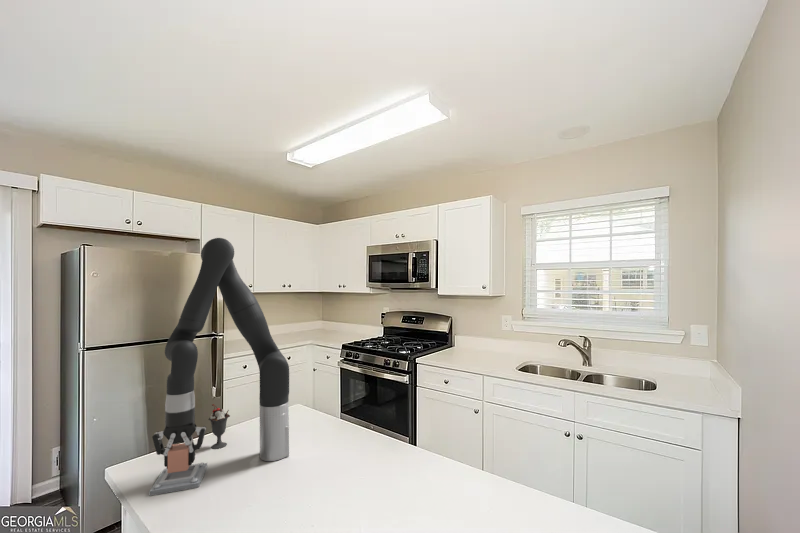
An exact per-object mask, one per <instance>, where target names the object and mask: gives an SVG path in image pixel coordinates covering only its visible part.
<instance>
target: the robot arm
mask: <svg viewBox="0 0 800 533" xmlns="http://www.w3.org/2000/svg"><path fill="white" fill-rule="evenodd" d="M234 256H235V248H234V246H233V244H232V243H231V241H229V240H227V239H226V238H222V237H214V238H212V239H210V240H208V241H207V242H205V244H204V245H203V247H202V249H201V251H200V259H201V263H200V264H201V265H200V269H199V272H198V276H197V278H196V281H195V283H194V285H193V287H192V289H191V291H190V293H189V296H188V298H187V299H186V301H185V304H184V306H183V308H182V312H181V314H180V318H179V319H178V322H177V324H176V326H175V328H174V330H173V331H172V333H171V335H170V336H169V338H168V339H167V342H166V344H165V347H164V355H165V358H166V359H167V360H168V361H170V362H171V364H170V365H171V366H170V373H169V374H168V376H167V379H166V396H165V406H164V410H165V412H164V414H165V416H164V417H165V418H164V419H165V420H164V429H163V430H162V431H156V432H154V434H153V435H152V437H151V438H152V441H153V445H154V448H155V449H154V450H155V453H156V455H159V456H160V455H162V456H164V457H163V458H164V459H163V461H164V464H163V465H164V467H165V468H167V469H168V451H169V450H170V449H171V447H172V446H173V445H174V444H182V443H185V445H186V446H187V448H189V459H188V465H192V464H194V461H195V460H196V451H197V450H200V449H201V447H202V446H203V442H204V439H205V438H204V437H205V435H206V431H207V426H205V425H203V426H197V425H196V422H195V420H196V396H195V372H196V369H197V363H198V358H199V352H198V347H197V345H196V344H195V343H194V340H195V338H196V336H197V335H198V334H199V333H200V332H202V331H203V329H204V326H205V324H206V321H207V319H208V316H209V314H210V311H211V307H212V305H213V301H214V298H215V295H216V293H217V292H216V291H217V290H218V288H219V291H220V294H221V297H222V299H223V302H224V304H225V306H226V308H227V311H228V312H229V315H230V317H231V319H232V321H233V323H234V325H235V326H236V328H237V330H238V332H239V333H240V334H241V336H242V337H243V338H244V339H245V341H246V342H247V344H248V345H249V347H250V349H251V350H252V352H253V355H254V358H255V359H256V362H257V366H258V370H259V458H260V460H261V461H265V462H274V461H279V460H282V459H284V458H287V457H290V417H289V416H290V415H289V410H290V409H289V406H290V405H289V404H290V403H289V400H290V399H289V396H290V364H289V363H288V360H287V359H286V357H285V356H284V355H283V353H282V352H281V350H280V349H279V347H278V346H277V344H276V342H275V341H274V339H273V337H272V335H271V332H270V329H269V325H268V322H267V319H266V317H265V314H264V312H263V309H262V307H261V305H260V304H259V301H258V300H257V298H256V296H255V295H254V293H253V292H252V290H251V289H250V288H249V286H247V284H246V283H245V282H244V281H243V279H242V278H241V276H240V274H239V273H238V270H237V267H236V266H235V263H234ZM195 432H196V435H197V436H198V437H197V438H198V439H197V441H196V442H197V443H195V442H194V438H193V434H194V433H195ZM164 437H165V438H166V439H167V440H168V441H167V444H166V445H165V446H166V447H164V444H163V440H162V439H163V438H164Z"/></svg>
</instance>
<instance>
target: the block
mask: <svg viewBox="0 0 800 533" xmlns="http://www.w3.org/2000/svg"><path fill="white" fill-rule="evenodd" d="M188 459H189V448H187V446H186V445H185V443H176V444H173V446H172V447H171V449H170V450H169V451H168V470H167V473H173V472H180V471H187V470H188V468H189V466H190V465H188Z"/></svg>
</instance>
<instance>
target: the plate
mask: <svg viewBox="0 0 800 533" xmlns="http://www.w3.org/2000/svg"><path fill="white" fill-rule="evenodd" d="M207 469H208V462H206V463H205V462H200V463H192V464H191V465H190V466H189V468H188V470H187V471H180V472H173V473H167V470H168V469H167V467H165V468H164V469H163V470H162V471H161V473H160V475H159V476H158V477H157V479H156V481H155V482H154V484H153V485H152V487H151V488H150V490H149V496H156V495H162V494H169V493H173V492H179V491H184V490H190V489H197V488H200V485H201V482H202V481H203V478H204V476H205V473H206V471H207Z"/></svg>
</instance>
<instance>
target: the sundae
mask: <svg viewBox="0 0 800 533" xmlns="http://www.w3.org/2000/svg"><path fill="white" fill-rule="evenodd" d="M211 406H213V407H214V408H213V409H212V413H211V414H210V416H209V418H208V421H210V424H211V425H210V426H211V430H212V434H213V435H214V436H215V437H216V443H214V444H212V445H211V449H213V450H219V448H220V449H222V448H225V447H226V446H227V442H226V441H225V442H223V441H222V436H223V434H225V433H226V427H227V421H228V418H230V417H231V415H230V414H229V411H230V410H229V409H227V411H225V410H224V409H223V408H220V407H217V405H215V403H214V404H211Z"/></svg>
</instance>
